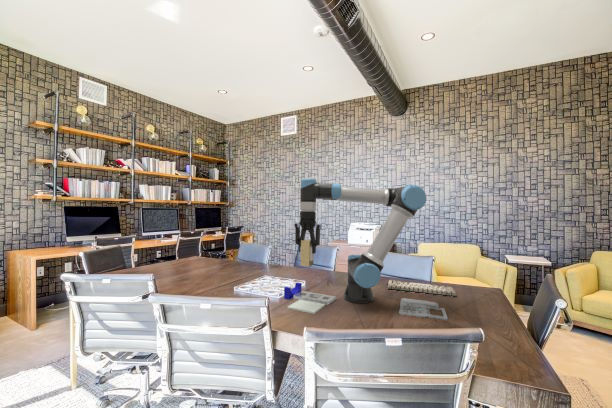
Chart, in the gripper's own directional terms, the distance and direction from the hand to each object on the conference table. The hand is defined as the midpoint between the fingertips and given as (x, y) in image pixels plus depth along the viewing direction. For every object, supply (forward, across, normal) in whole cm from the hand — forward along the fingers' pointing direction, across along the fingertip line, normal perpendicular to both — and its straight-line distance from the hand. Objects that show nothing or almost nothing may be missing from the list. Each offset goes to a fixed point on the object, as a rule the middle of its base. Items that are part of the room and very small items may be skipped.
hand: (307, 259), depth 135 cm
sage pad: (+23, 0, 0) cm, 23 cm away
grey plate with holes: (+23, +2, -13) cm, 26 cm away
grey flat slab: (+23, -49, -25) cm, 60 cm away
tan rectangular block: (+3, 0, 0) cm, 3 cm away
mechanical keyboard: (+23, -45, -60) cm, 78 cm away
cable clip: (+23, +15, -12) cm, 30 cm away
